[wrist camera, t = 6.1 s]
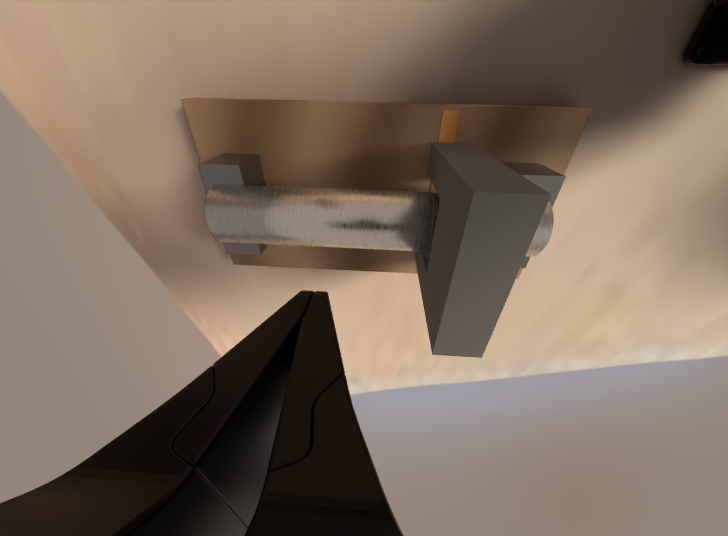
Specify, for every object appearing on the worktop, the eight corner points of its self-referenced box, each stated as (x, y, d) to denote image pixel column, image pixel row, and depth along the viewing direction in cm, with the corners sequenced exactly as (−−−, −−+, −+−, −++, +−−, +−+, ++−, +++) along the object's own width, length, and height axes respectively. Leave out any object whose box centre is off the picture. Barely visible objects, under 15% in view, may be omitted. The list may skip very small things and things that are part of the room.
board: (573, 106, 14) (593, 108, 12) (509, 266, 19) (518, 279, 18) (198, 98, 14) (179, 99, 13) (243, 253, 20) (233, 265, 19)
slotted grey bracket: (471, 143, 13) (551, 194, 7) (445, 257, 17) (481, 357, 11) (431, 142, 13) (474, 191, 7) (414, 256, 17) (432, 354, 11)
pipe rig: (538, 163, 14) (589, 187, 10) (507, 245, 17) (539, 285, 13) (224, 153, 15) (175, 173, 11) (245, 234, 17) (212, 269, 14)
